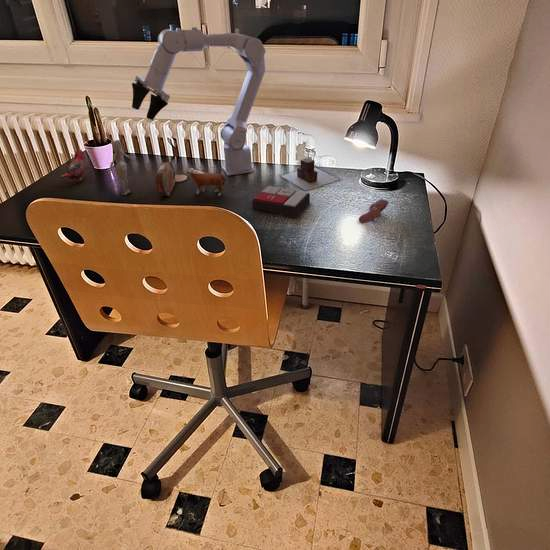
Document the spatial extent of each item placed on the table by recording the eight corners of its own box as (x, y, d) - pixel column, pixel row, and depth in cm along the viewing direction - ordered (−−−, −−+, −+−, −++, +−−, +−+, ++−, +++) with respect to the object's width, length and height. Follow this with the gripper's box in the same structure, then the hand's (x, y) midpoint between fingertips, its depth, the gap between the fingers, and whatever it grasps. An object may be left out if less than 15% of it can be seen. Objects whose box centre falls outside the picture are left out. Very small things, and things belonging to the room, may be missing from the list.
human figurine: (135, 185, 146) (123, 133, 135) (143, 187, 144) (132, 135, 134) (110, 200, 137) (96, 145, 126) (119, 202, 136) (105, 147, 125)
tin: (167, 200, 137) (162, 175, 132) (157, 200, 137) (152, 175, 132) (176, 181, 149) (173, 157, 144) (168, 181, 149) (163, 158, 144)
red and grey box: (267, 184, 136) (310, 190, 131) (268, 196, 139) (310, 203, 133) (250, 198, 129) (295, 205, 123) (252, 210, 131) (296, 218, 125)
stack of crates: (339, 179, 148) (341, 160, 144) (305, 190, 141) (306, 171, 137) (313, 166, 158) (313, 148, 154) (280, 176, 151) (280, 157, 147)
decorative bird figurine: (93, 173, 155) (85, 146, 149) (69, 194, 141) (60, 166, 135) (85, 173, 155) (77, 146, 149) (61, 194, 141) (51, 165, 135)
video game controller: (368, 230, 122) (382, 214, 117) (356, 220, 123) (369, 204, 118) (381, 216, 129) (394, 200, 124) (369, 207, 129) (381, 191, 124)
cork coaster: (185, 174, 153) (185, 173, 153) (188, 180, 149) (188, 179, 148) (169, 177, 152) (168, 175, 151) (171, 183, 147) (171, 182, 147)
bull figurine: (191, 188, 144) (188, 165, 139) (227, 192, 141) (225, 169, 136) (185, 193, 140) (182, 170, 136) (222, 198, 137) (220, 174, 132)
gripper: (134, 57, 126) (118, 100, 131) (163, 75, 121) (146, 120, 125) (151, 66, 132) (136, 107, 137) (181, 84, 127) (163, 126, 131)
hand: (142, 113), depth 131 cm, fingers open, 7 cm apart
